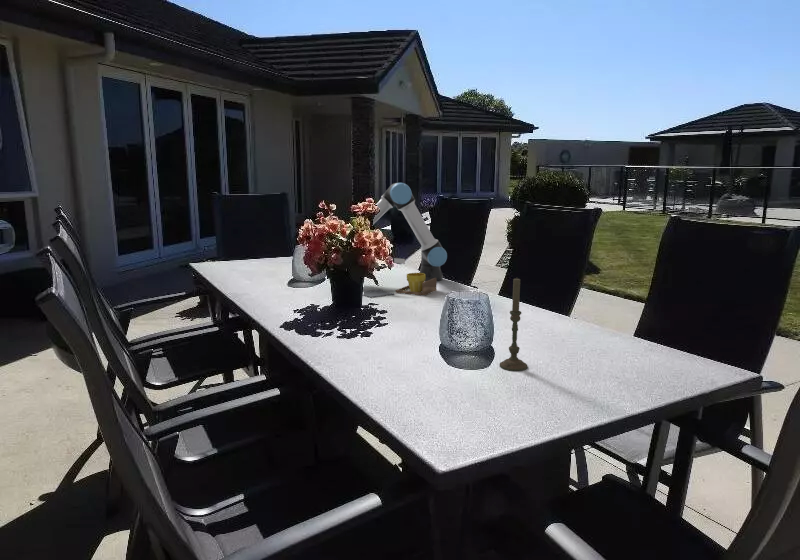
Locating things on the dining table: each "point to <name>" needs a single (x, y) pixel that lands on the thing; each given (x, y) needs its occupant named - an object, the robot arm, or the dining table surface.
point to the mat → (377, 293)
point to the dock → (426, 288)
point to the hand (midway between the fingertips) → (399, 262)
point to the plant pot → (415, 281)
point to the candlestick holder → (514, 333)
